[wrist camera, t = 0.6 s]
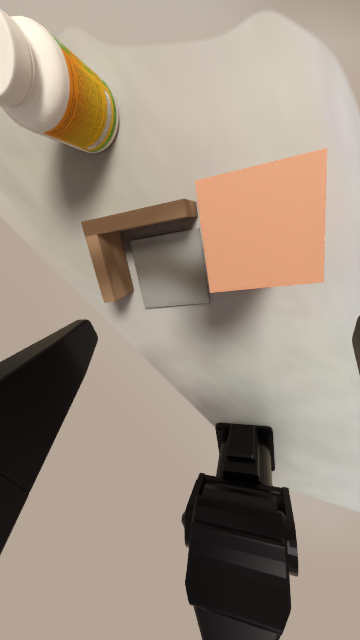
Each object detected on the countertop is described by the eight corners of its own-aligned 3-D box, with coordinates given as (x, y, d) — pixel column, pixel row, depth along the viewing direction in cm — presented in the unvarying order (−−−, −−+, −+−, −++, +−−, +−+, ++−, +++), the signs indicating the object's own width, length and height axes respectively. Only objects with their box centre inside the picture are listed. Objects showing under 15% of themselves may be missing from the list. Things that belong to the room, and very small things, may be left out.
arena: (209, 301, 25) (201, 316, 21) (128, 308, 28) (109, 322, 24) (195, 202, 22) (184, 198, 18) (106, 221, 24) (81, 222, 21)
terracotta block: (286, 246, 21) (323, 282, 9) (233, 254, 22) (210, 292, 11) (284, 189, 19) (326, 148, 8) (228, 201, 21) (195, 180, 9)
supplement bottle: (123, 81, 20) (21, -24, 11) (117, 159, 22) (28, 121, 13) (66, 73, 21) (-71, -31, 12) (65, 148, 23) (-49, 107, 14)
